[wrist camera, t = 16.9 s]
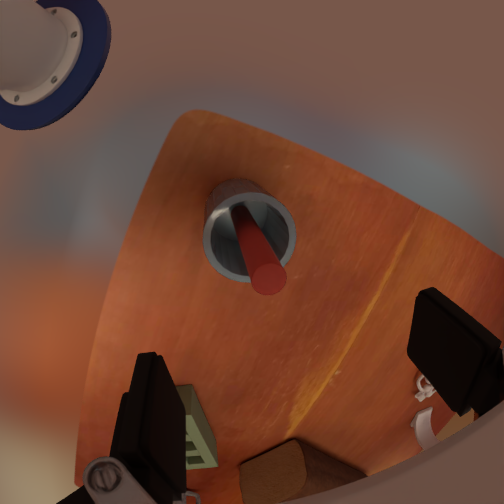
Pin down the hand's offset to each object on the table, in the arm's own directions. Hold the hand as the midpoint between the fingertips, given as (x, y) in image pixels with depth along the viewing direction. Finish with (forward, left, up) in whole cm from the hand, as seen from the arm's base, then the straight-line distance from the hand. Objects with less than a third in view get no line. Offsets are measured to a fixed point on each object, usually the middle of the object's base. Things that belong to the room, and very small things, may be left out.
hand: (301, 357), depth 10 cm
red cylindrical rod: (0, -1, -23) cm, 23 cm away
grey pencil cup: (0, 0, -24) cm, 24 cm away
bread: (+7, -63, -24) cm, 68 cm away
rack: (-14, -31, -24) cm, 42 cm away
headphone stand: (+34, -54, -24) cm, 69 cm away
